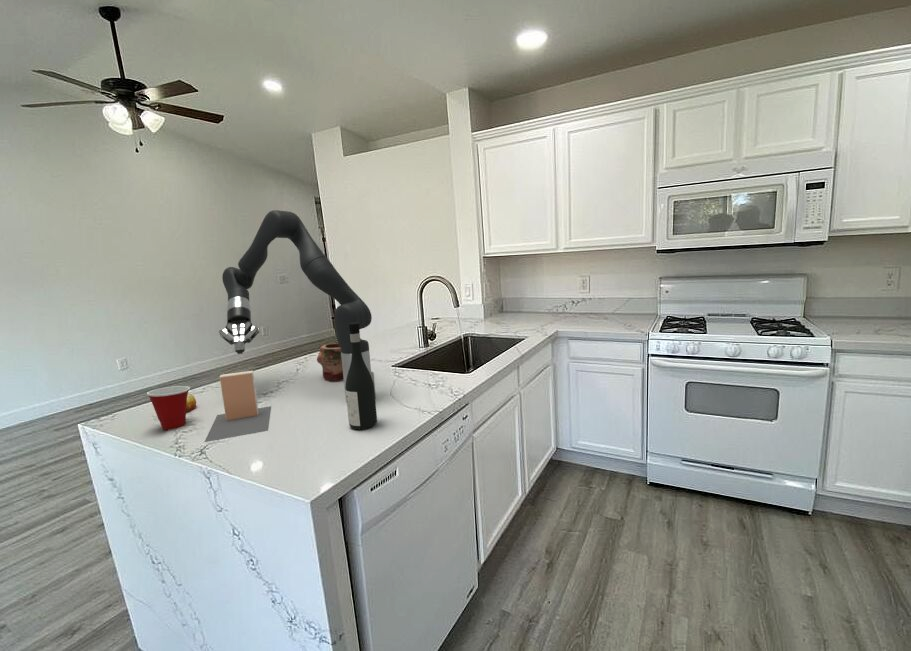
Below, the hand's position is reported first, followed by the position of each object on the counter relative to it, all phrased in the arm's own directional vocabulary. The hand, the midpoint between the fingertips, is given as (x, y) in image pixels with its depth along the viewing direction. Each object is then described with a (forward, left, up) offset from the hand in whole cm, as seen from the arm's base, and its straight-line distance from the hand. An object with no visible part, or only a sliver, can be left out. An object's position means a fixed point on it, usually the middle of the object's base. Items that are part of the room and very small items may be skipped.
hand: (239, 352), depth 143 cm
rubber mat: (-15, +12, -18) cm, 26 cm away
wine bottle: (-51, -2, -19) cm, 54 cm away
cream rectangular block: (-11, +9, -18) cm, 23 cm away
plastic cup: (+3, +22, -19) cm, 29 cm away
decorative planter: (-9, -35, -19) cm, 41 cm away
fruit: (+16, +14, -19) cm, 28 cm away
